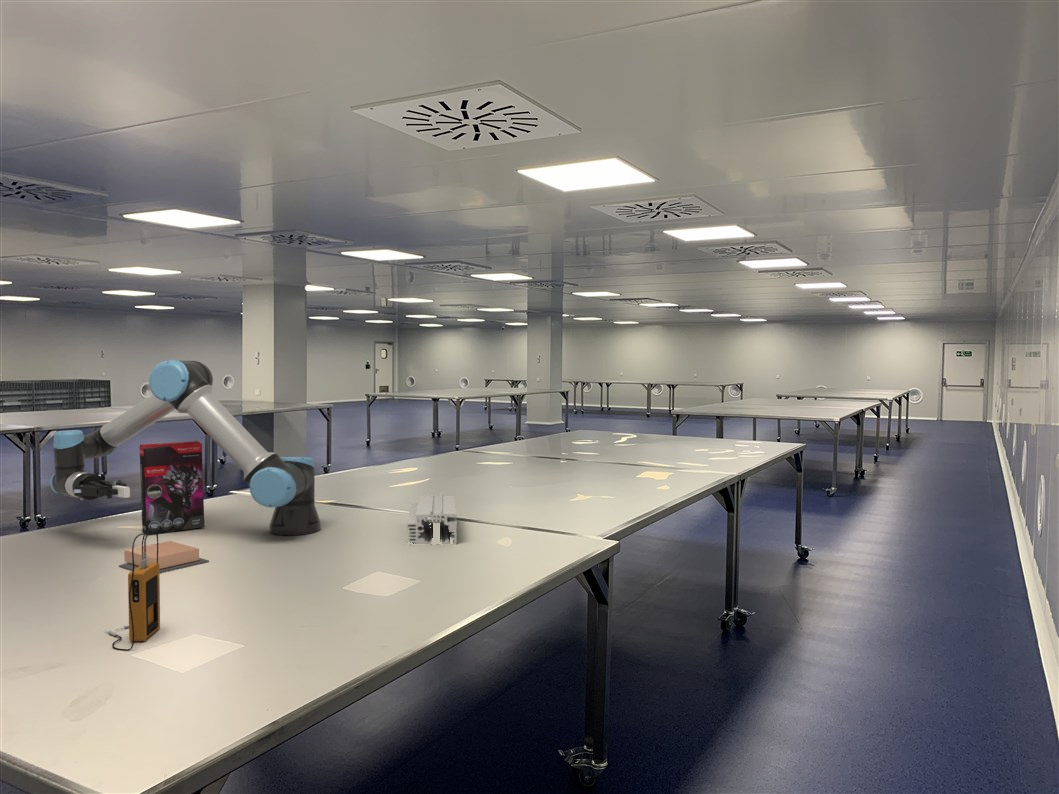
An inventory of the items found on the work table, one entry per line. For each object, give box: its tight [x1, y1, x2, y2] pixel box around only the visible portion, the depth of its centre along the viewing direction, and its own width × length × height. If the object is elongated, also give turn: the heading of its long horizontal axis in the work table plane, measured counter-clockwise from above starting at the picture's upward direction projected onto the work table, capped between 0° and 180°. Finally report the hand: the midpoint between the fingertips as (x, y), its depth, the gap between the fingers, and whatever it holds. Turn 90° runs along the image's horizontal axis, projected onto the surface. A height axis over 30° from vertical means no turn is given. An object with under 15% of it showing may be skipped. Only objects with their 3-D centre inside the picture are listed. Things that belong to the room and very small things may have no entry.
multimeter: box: [104, 528, 161, 652], centre depth 137 cm, size 15×10×20 cm
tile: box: [123, 540, 200, 569], centre depth 188 cm, size 3×12×14 cm
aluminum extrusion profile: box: [406, 492, 458, 546], centre depth 225 cm, size 14×31×10 cm, turn 7°
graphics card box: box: [138, 440, 205, 536], centre depth 226 cm, size 17×7×27 cm, turn 129°
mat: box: [118, 557, 210, 574], centre depth 187 cm, size 14×16×1 cm
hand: (126, 492), depth 197 cm, fingers closed
